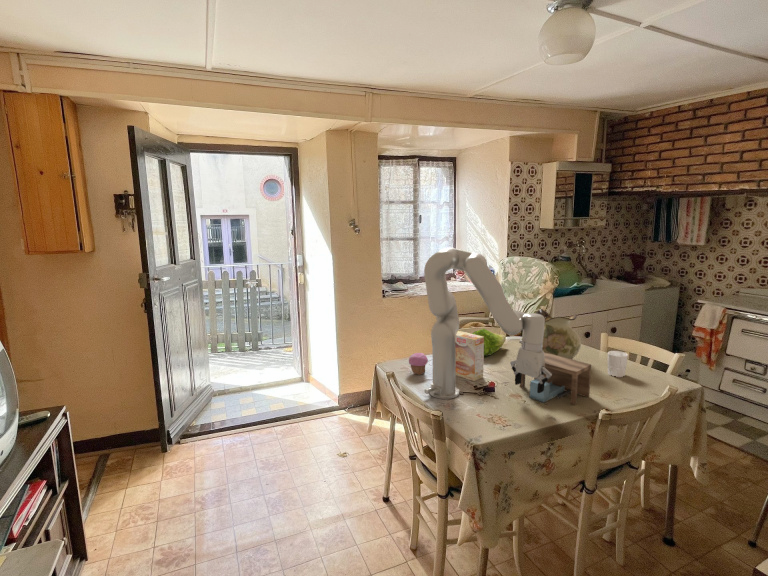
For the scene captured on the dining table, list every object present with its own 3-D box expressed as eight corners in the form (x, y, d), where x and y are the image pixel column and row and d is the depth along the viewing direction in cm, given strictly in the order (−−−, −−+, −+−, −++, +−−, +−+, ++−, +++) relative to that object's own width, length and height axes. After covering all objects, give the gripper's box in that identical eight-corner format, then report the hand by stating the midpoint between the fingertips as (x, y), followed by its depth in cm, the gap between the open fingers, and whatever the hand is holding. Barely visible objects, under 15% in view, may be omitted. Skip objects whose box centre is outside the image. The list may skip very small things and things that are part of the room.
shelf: (574, 405, 160) (576, 372, 158) (519, 386, 179) (520, 356, 176) (589, 396, 168) (591, 364, 165) (535, 379, 186) (536, 350, 184)
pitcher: (577, 372, 193) (580, 319, 189) (524, 364, 205) (526, 314, 201) (581, 358, 212) (584, 310, 208) (533, 351, 224) (535, 306, 220)
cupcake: (430, 371, 198) (430, 351, 196) (423, 378, 190) (423, 357, 189) (413, 369, 202) (413, 349, 200) (405, 375, 194) (405, 354, 193)
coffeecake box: (448, 373, 196) (448, 333, 193) (457, 369, 201) (457, 329, 198) (474, 381, 185) (475, 339, 182) (483, 377, 190) (484, 336, 187)
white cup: (621, 379, 184) (623, 357, 182) (603, 374, 190) (604, 353, 188) (629, 374, 189) (630, 353, 187) (610, 370, 195) (612, 349, 193)
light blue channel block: (543, 402, 163) (544, 385, 162) (529, 397, 168) (530, 381, 167) (564, 391, 173) (565, 375, 172) (550, 387, 178) (551, 371, 176)
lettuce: (490, 345, 239) (513, 354, 228) (464, 352, 223) (487, 361, 212) (494, 321, 236) (517, 328, 225) (467, 326, 220) (491, 334, 209)
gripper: (506, 342, 163) (504, 383, 166) (547, 353, 150) (544, 398, 153) (518, 338, 168) (515, 378, 171) (558, 349, 155) (554, 393, 158)
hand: (528, 388), depth 162 cm, fingers open, 9 cm apart
